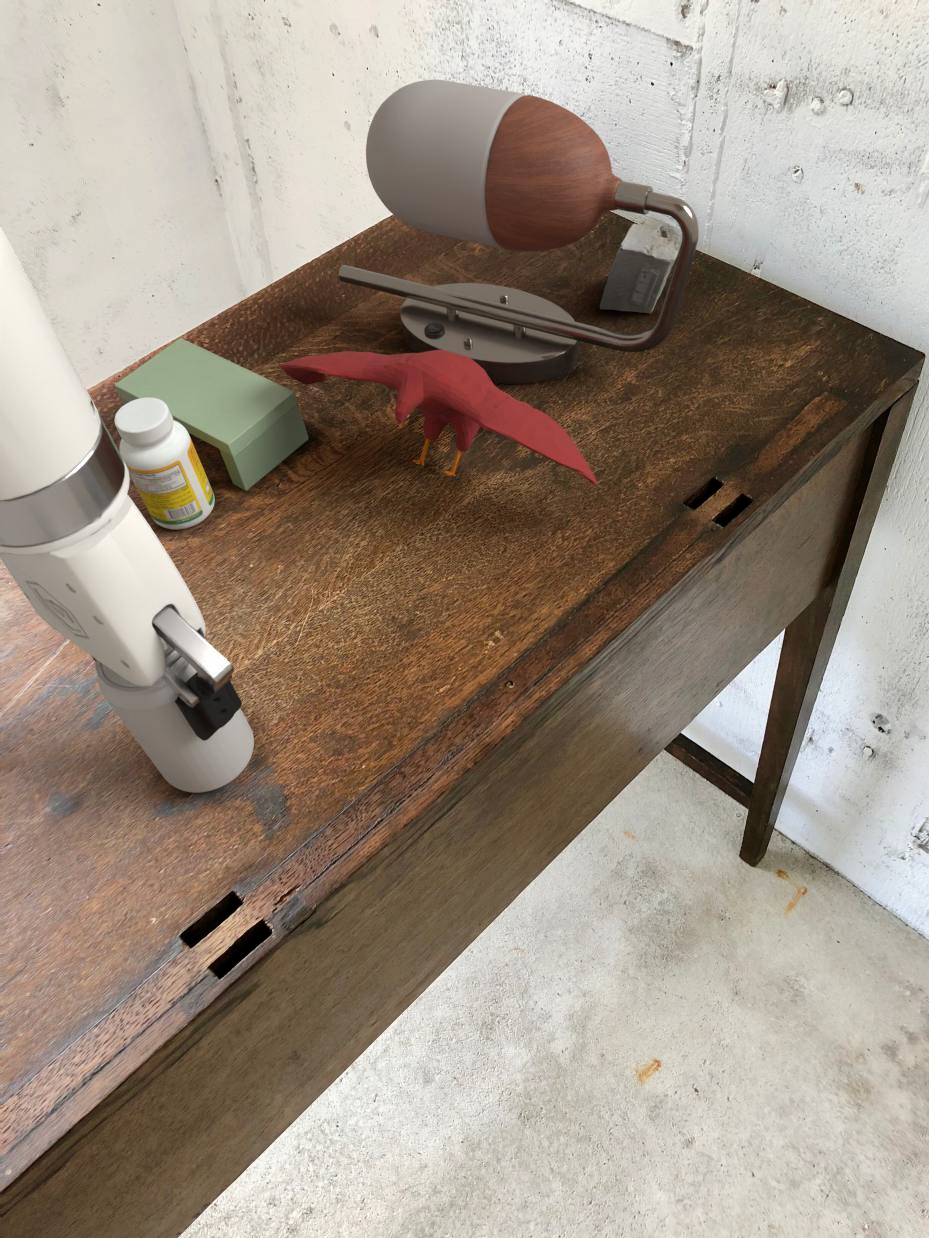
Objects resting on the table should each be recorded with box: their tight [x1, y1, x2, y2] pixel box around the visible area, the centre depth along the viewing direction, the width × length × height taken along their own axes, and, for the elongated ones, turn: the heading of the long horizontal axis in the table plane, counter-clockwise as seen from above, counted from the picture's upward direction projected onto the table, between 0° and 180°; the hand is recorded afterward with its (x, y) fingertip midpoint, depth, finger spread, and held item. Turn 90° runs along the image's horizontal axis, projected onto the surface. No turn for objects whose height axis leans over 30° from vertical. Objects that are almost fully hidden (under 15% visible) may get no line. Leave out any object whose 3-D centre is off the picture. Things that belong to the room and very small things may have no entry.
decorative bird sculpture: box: [278, 350, 599, 487], centre depth 76 cm, size 28×9×15 cm
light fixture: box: [338, 79, 700, 385], centre depth 79 cm, size 11×22×34 cm
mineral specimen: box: [599, 215, 682, 314], centre depth 87 cm, size 7×9×8 cm
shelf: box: [113, 337, 310, 492], centre depth 81 cm, size 14×8×5 cm, turn 54°
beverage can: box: [94, 638, 255, 793], centre depth 59 cm, size 6×6×12 cm
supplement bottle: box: [113, 398, 216, 531], centre depth 74 cm, size 5×5×10 cm
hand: (170, 686), depth 58 cm, fingers open, 8 cm apart
